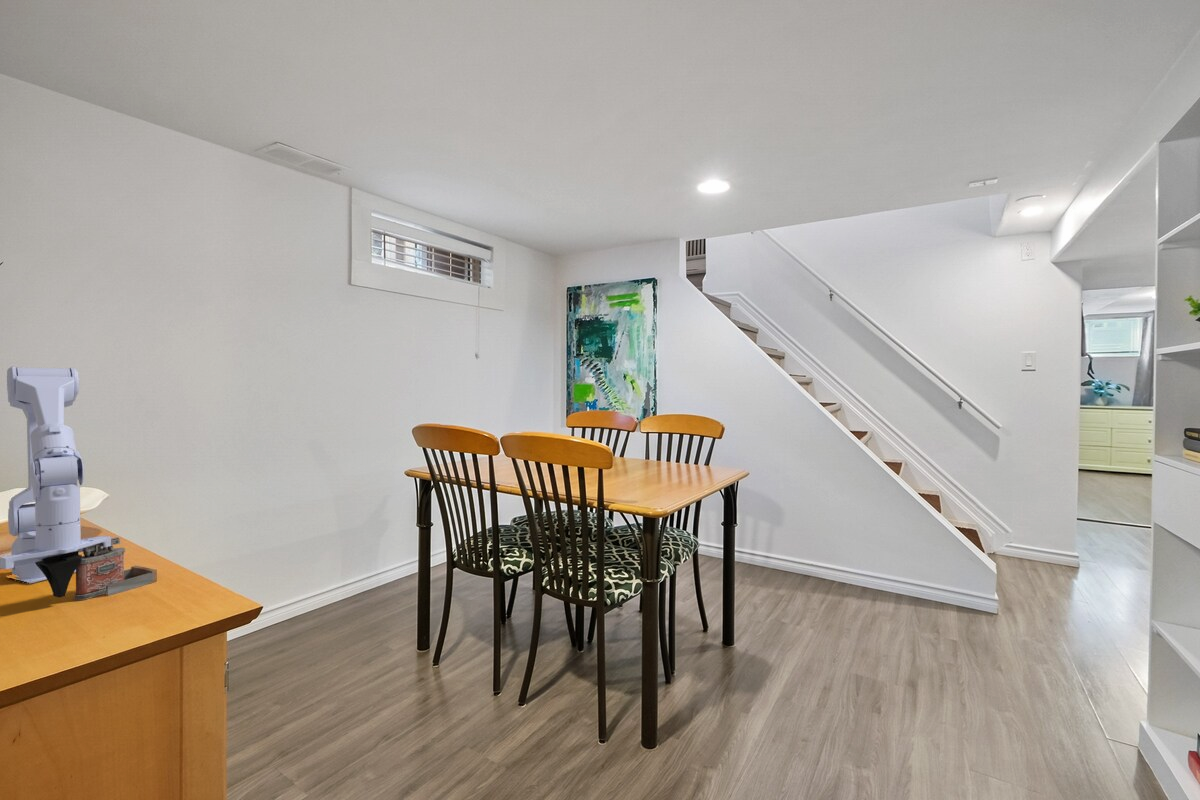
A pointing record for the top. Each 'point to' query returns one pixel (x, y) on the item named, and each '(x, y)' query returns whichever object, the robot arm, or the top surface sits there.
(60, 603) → the top surface
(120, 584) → the keeper
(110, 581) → the lighter
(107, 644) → the top surface
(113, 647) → the top surface
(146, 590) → the top surface
